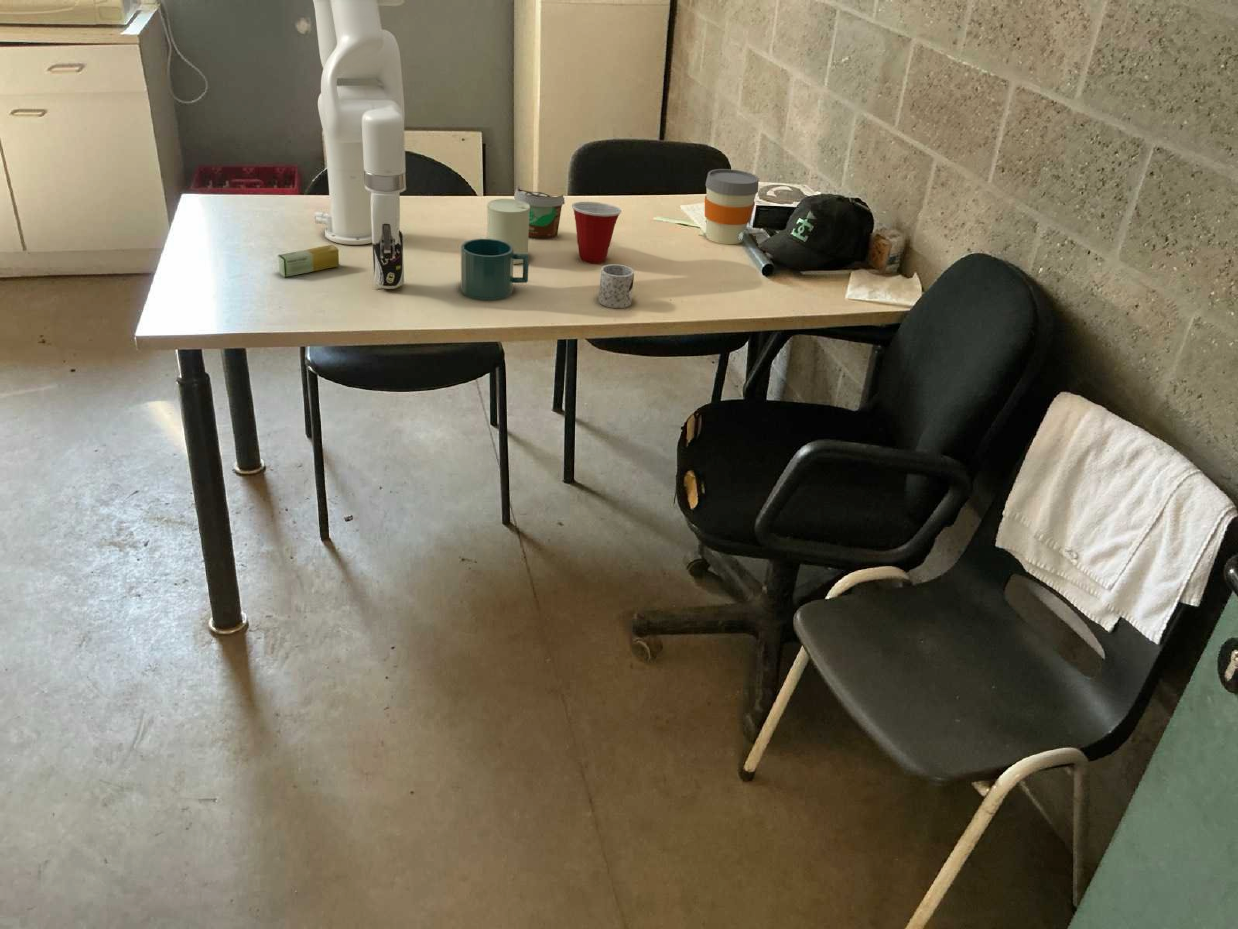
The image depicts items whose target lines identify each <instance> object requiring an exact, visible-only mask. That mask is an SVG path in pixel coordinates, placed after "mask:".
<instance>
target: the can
mask: <svg viewBox="0 0 1238 929" xmlns="http://www.w3.org/2000/svg"><path fill="white" fill-rule="evenodd" d="M486 208H487V210H486V211H487V212H486V213H487V224H486V225H487V226H486V227H487V229H486V230H487V232H486V234H487V235H486V236H487V237H486V239H495V240H501V241H504V242H507V243H509V244H510V245H512V246H513V249H514V254H528V255H529V238H528V235H529V212H530V205H529V204H528V203H526V202H523V201H520V200H515V199H514V198H496V199H492V200H490V201H488V202H487V204H486ZM519 264H520V265H521V264H523V259H513V265H519Z"/></svg>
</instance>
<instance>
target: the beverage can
mask: <svg viewBox="0 0 1238 929" xmlns="http://www.w3.org/2000/svg"><path fill="white" fill-rule="evenodd" d="M403 237H404V235H403V232H402V231H401V230H400V229H399V237H398V243H397V244H396V245H395V259H389V258H387V259H384V257H383V259H381V254H380V241H379V243H376V244H373V243H371V244H372V261H373V263H372V264H373V282H374V284H375V285H377V286H379V287H380V288H382V289H385V290H394V289H397V288H399V287H400V286H402V285H403V284H404V282H405V270H404V266H405V265H404V264H405V263H404V240H403V239H404V238H403ZM382 243H384V240H382ZM391 243H393V237H392V240H390V244H391ZM383 248H384V246H383ZM390 248H392V246H390ZM384 263H385V273H384ZM392 267H393V273H392Z"/></svg>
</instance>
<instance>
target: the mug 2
mask: <svg viewBox="0 0 1238 929" xmlns="http://www.w3.org/2000/svg"><path fill="white" fill-rule="evenodd" d="M634 277H635V269H633V268H632V267H630V266H628V265H624V264H616V263H614V264H612V263H611V264H606V265H603V266H601V267H600V276H599V289H598V303H599V304H600V305H602V306H604V307H607V308H611V309H612V308H613V309H623V308H628V307H630V306H631V305H632V302H633V301H632V299H633V290H634V289H633V288H634Z"/></svg>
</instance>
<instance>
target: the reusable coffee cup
mask: <svg viewBox="0 0 1238 929" xmlns="http://www.w3.org/2000/svg"><path fill="white" fill-rule="evenodd" d="M759 179H760V178H759V177H758V176H757V175H756V174H753V173H752V172H747V171H743V170H739V169H732V168H731V169H730V168H717V169H711V170H710V171H708V173H707V177H706V181H705V184H704V185H705V187H706V195H705V196H704V217H705V220H706V222H705V223H706V224H705V227H706V228H705V237H706V239H708V240H709V241H711V242H714V243H717V244H720V245H721V244H722V245H737V244H741V243H742V242H743V240H744V239H743V240H741V239H740V240H739V238H738V237H739V234H740V233H741V232H743V231H744V230H745V231H746V230H747V226H748V223H750V222H751V220H752V219H751V218H752V215H753V212H754V208H755V204H756V202H755V198H756V195H757V194H758V193H759V181H760V180H759Z"/></svg>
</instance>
